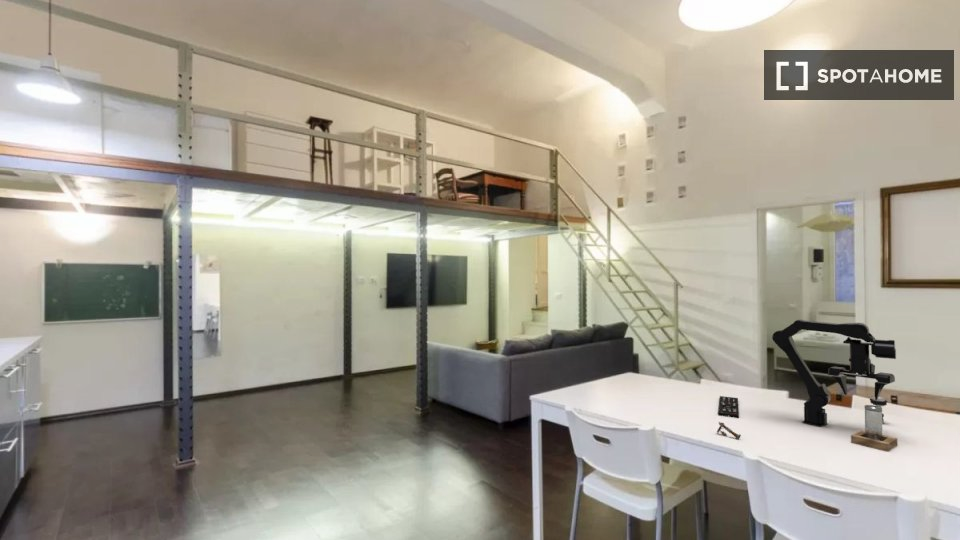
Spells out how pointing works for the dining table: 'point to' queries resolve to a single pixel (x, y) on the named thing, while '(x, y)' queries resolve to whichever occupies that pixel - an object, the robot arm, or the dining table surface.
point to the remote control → (728, 407)
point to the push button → (879, 403)
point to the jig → (874, 441)
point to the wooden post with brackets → (727, 430)
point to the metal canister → (873, 422)
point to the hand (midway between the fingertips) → (860, 397)
